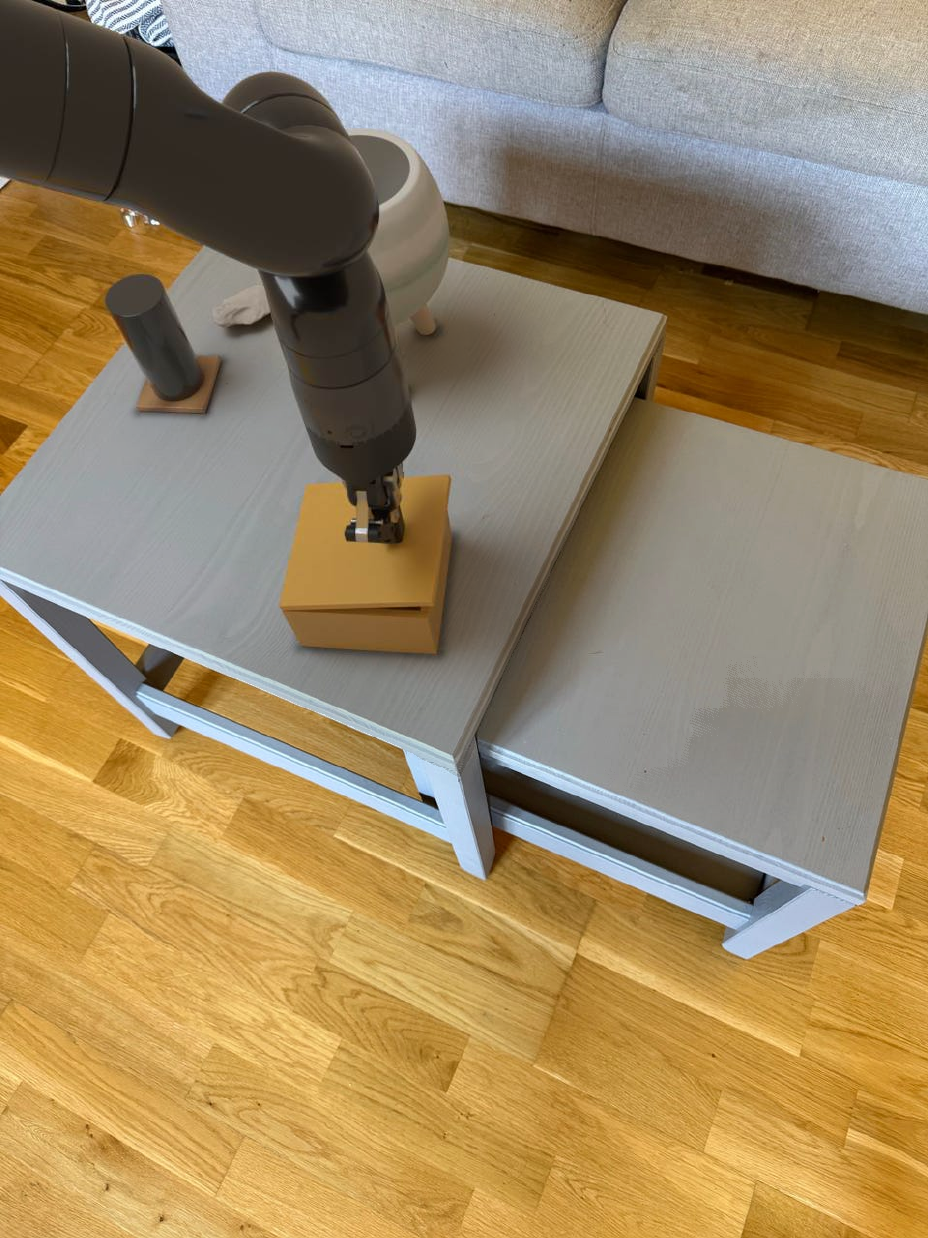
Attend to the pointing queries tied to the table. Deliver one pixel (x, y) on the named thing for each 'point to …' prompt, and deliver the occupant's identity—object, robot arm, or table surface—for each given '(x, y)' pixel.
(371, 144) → the planter
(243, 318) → the decorative stone
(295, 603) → the lid
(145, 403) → the pad
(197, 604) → the table surface
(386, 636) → the chest
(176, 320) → the dark grey cylinder
